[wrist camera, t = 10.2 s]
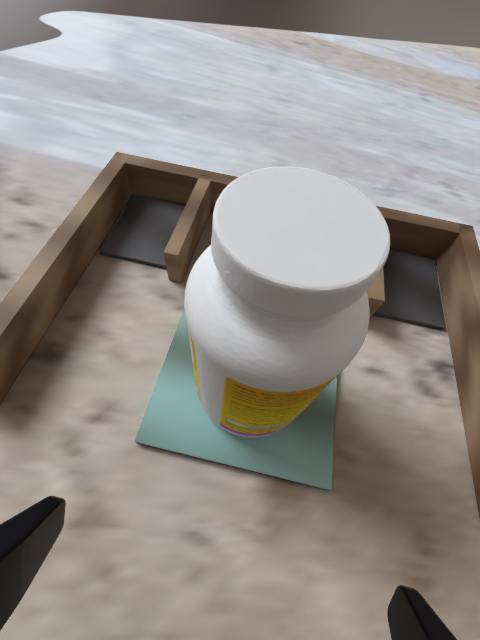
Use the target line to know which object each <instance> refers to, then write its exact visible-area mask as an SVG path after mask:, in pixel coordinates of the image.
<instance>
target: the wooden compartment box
mask: <svg viewBox="0 0 480 640" xmlns="http://www.w3.org/2000/svg"><path fill="white" fill-rule="evenodd" d="M237 178H238V177H234V176H230V175H225V174H220V173H215V172H210V171H206V170H201V169H196V168H191V167H186V166H182V165H177V164H172V163H167V162H162V161H158V160H153V159H148V158H143V157H138V156H134V155H129V154H124V153H119V152H116V154H115V155H114V156H113V158H112V159H111V160H110V161H109V163H108V164H107V165H106V167H105V168H104V169H103V171H102V172H101V173H100V174H99V176H98V177H97V178H96V180H95V181H94V182H93V184H92V185H91V186H90V187H89V189H88V190H87V191H86V193H85V194H84V195H83V197H82V198H81V199H80V200H79V202H78V203H77V204H76V206H75V207H74V208H73V210H72V211H71V212H70V213H69V215H68V216H67V217H66V219H65V220H64V221H63V223H62V224H61V225H60V226H59V228H58V229H57V230H56V232H55V233H54V234H53V236H52V237H51V238H50V240H49V241H48V242H47V243H46V245H45V246H44V247H43V249H42V250H41V251H40V253H39V254H38V255H37V256H36V258H35V259H34V260H33V262H32V263H31V264H30V266H29V267H28V268H27V269H26V271H25V272H24V273H23V275H22V276H21V277H20V279H19V280H18V281H17V282H16V284H15V285H14V286H13V288H12V289H11V290H10V292H9V293H8V294H7V295H6V297H5V298H4V299H3V301H2V302H1V303H0V403H1V401H2V400H3V398H4V397H5V395H6V393H7V392H8V390H9V389H10V387H11V385H12V384H13V382H14V381H15V379H16V378H17V376H18V374H19V373H20V371H21V370H22V368H23V367H24V365H25V363H26V362H27V360H28V359H29V357H30V356H31V354H32V352H33V351H34V349H35V348H36V346H37V345H38V343H39V341H40V340H41V338H42V337H43V335H44V333H45V332H46V330H47V329H48V327H49V326H50V324H51V322H52V321H53V319H54V318H55V316H56V315H57V313H58V311H59V310H60V308H61V307H62V305H63V304H64V302H65V300H66V299H67V297H68V296H69V294H70V293H71V291H72V289H73V288H74V286H75V285H76V283H77V281H78V280H79V278H80V277H81V275H82V274H83V272H84V270H85V269H86V267H87V266H88V264H89V263H90V261H91V259H92V258H93V256H94V255H95V253H96V252H97V250H98V248H99V247H100V245H101V244H102V242H103V241H104V239H105V237H106V236H107V234H108V233H109V231H110V230H111V228H112V226H113V225H114V223H115V222H116V220H117V218H118V217H119V215H120V214H121V212H122V211H123V209H124V207H125V206H126V204H127V203H128V201H129V200H130V198H131V196H132V195H134V197H133V198H132V200H131V202H130V203H129V205H128V206H127V208H126V210H125V211H124V213H123V214H122V216H121V218H120V219H119V221H118V222H117V224H116V226H115V227H114V229H113V230H112V232H111V233H110V235H109V237H108V238H107V240H106V241H105V243H104V245H103V246H102V248H101V249H100V254H104V255H108V256H113V257H117V258H122V259H126V260H131V261H135V262H140V263H144V264H149V265H153V266H158V267H162V268H167V272H168V277H169V280H172V281H176V282H181V283H182V281H183V278H184V276H185V273H186V271H187V268H188V266H189V263H190V261H191V258H192V256H193V253H194V251H195V249H196V246H197V244H198V241H199V239H200V236H201V234H202V231H203V229H204V226H205V224H206V221H207V219H208V216H209V214H210V211H214V208H215V204H216V201H217V199H218V197H219V196H220V194H221V193H222V191H223V190H224V189H225V188H226V187H227V185H228V184H230V183H231V182H232V181H234V180H235V179H237ZM136 195H138V196H136ZM141 196H143V197H141ZM146 197H148V198H146ZM150 198H152V199H150ZM155 199H157V200H155ZM160 200H162V201H160ZM164 201H166V202H164ZM169 202H171V203H169ZM174 203H176V204H174ZM178 204H180V205H178ZM183 205H185V206H183ZM376 207H377V208H378V209H379V211H380V212H381V214H382V215H383V217H384V219H385V221H386V223H387V226H388V229H389V233H390V249H391V250H389V254H388V257H387V259H386V262H385V264H384V266H383V268H382V269H381V271H380V272H379V273H378V275H377V276H376V278H375V279H374V281H373V282H372V283H371V285H370V286H369V288H368V289H367V291H366V292H367V296H368V301H369V309H370V317H371V316H372V315H378V316H382V317H387V318H391V319H396V320H400V321H405V322H409V323H414V324H418V325H423V326H427V327H432V328H436V329H441V330H443V329H445V322H444V316H443V310H442V304H441V298H440V292H439V286H438V280H437V274H436V268H435V262H434V259H436V263H437V269H438V275H439V280H440V286H441V292H442V298H443V304H444V310H445V316H446V322H447V328H448V333H449V339H450V345H451V351H452V357H453V363H454V369H455V375H456V380H457V386H458V392H459V398H460V404H461V410H462V416H463V422H464V428H465V433H466V439H467V445H468V451H469V457H470V463H471V469H472V475H473V481H474V486H475V492H476V498H477V504H478V510H479V516H480V251H479V247H478V243H477V240H476V236H475V233H474V229H473V226H470V225H465V224H460V223H455V222H451V221H446V220H441V219H436V218H431V217H427V216H422V215H417V214H412V213H407V212H403V211H398V210H393V209H388V208H383V207H379V206H376ZM394 250H396V251H394ZM399 251H400V252H399ZM403 252H405V253H403ZM408 253H410V254H408ZM413 254H415V255H413ZM417 255H419V256H417ZM422 256H424V257H422ZM427 257H429V258H427ZM431 258H433V259H431ZM370 317H369V318H370ZM336 389H337V377H336V378H335V379H334V380H333V381H332V382H331V383H330V384H329V385H328V386H327V387H326V388H325V389H324V390H323V391H322V392H321V393H320V394H319V395H318V396H317V397H316V398H315V399H314V400H313V401H312V402H311V403H310V404H309V405H308V406H307V407H306V408H305V409H304V410H303V411H302V412H301V413H300V414H299V415H298V416H297V417H296V418H295V419H294V420H293V421H292V422H291V423H290V424H288V425H287V426H286V427H284V428H283V429H281V430H280V431H278V432H276V433H273V434H271V435H267V436H263V437H254V438H252V437H242V436H238V435H235V434H232V433H230V432H227V431H226V430H224V429H222V428H221V427H219V426H218V425H217V424H215V423H214V422H213V421H212V420H211V419H210V418H209V416H208V415H207V414H206V412H205V411H204V409H203V407H202V405H201V403H200V400H199V398H198V394H197V390H196V384H195V377H194V370H193V362H192V355H191V347H190V341H189V334H188V328H187V322H186V314H185V308H184V311H183V314H182V316H181V319H180V322H179V324H178V327H177V330H176V332H175V335H174V338H173V340H172V343H171V346H170V348H169V351H168V354H167V356H166V359H165V362H164V364H163V367H162V370H161V372H160V375H159V378H158V380H157V383H156V386H155V388H154V391H153V394H152V396H151V399H150V402H149V405H148V407H147V410H146V413H145V415H144V418H143V421H142V423H141V426H140V429H139V431H138V434H137V437H136V439H135V442H136V443H140V444H144V445H148V446H152V447H156V448H160V449H164V450H168V451H172V452H176V453H180V454H184V455H188V456H193V457H197V458H201V459H205V460H209V461H213V462H217V463H221V464H225V465H229V466H233V467H237V468H241V469H245V470H249V471H253V472H257V473H261V474H265V475H269V476H273V477H277V478H281V479H286V480H290V481H294V482H298V483H302V484H306V485H310V486H314V487H318V488H322V489H326V490H332V472H333V451H334V430H335V410H336Z"/></svg>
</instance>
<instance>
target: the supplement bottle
mask: <svg viewBox="0 0 480 640" xmlns="http://www.w3.org/2000/svg"><path fill="white" fill-rule="evenodd" d="M389 249H390V233H389V229H388V226H387V223H386V221H385V219H384V217H383V215H382V214H381V212H380V211H379V209H378V208H377V207H376V205H375V204H374V203H373V202H372V201H371V200H370V199H369V198H368V197H367V196H366V195H365V194H364V193H362V192H361V191H360V190H358V189H357V188H355V187H354V186H352V185H350V184H349V183H347V182H345V181H343V180H341V179H339V178H337V177H334V176H332V175H329V174H326V173H323V172H320V171H317V170H313V169H308V168H301V167H292V166H282V167H268V168H262V169H258V170H254V171H251V172H249V173H246V174H244V175H242V176H240V177H238V178H237V179H235V180H234V181H232V182H231V183H230V184H228V185H227V187H226V188H225V189H224V190H223V191H222V193H221V194H220V196H219V197H218V199H217V201H216V204H215V208H214V211H213V224H212V238H211V245H210V246H209V247H208V248H207V249H206V250H205V251H204V252H203V253H202V254H201V256H200V257H199V258H198V260H197V261H196V263H195V264H194V266H193V268H192V270H191V272H190V275H189V278H188V281H187V285H186V290H185V314H186V322H187V328H188V334H189V341H190V347H191V355H192V362H193V370H194V377H195V384H196V390H197V394H198V398H199V400H200V403H201V405H202V407H203V409H204V411H205V412H206V414H207V415H208V416H209V418H210V419H211V420H212V421H213V422H214V423H215V424H217V425H218V426H219V427H221V428H222V429H224V430H226V431H227V432H230V433H232V434H235V435H238V436H242V437H252V438H254V437H263V436H267V435H271V434H273V433H276V432H278V431H280V430H281V429H283V428H284V427H286V426H287V425H288V424H290V423H291V422H292V421H293V420H294V419H295V418H296V417H297V416H298V415H299V414H300V413H301V412H302V411H303V410H304V409H305V408H306V407H307V406H308V405H309V404H310V403H311V402H312V401H313V400H314V399H315V398H316V397H317V396H318V395H319V394H320V393H321V392H322V391H323V390H324V389H325V388H326V387H327V386H328V385H329V384H330V383H331V382H332V381H333V380H334V379H335V378H336V377H337V376H338V375H339V374H340V373H341V372H342V371H343V370H344V369H345V368H346V366H347V365H348V364H349V363H350V362H351V361H352V359H353V358H354V357H355V355H356V354H357V353H358V351H359V349H360V348H361V346H362V344H363V342H364V339H365V337H366V334H367V330H368V325H369V317H370V309H369V301H368V296H367V292H366V291H367V289H368V288H369V286H370V285H371V283H372V282H373V281H374V279H375V278H376V276H377V275H378V273H379V272H380V271H381V269H382V268H383V266H384V264H385V262H386V259H387V257H388V254H389Z"/></svg>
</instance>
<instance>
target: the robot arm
mask: <svg viewBox="0 0 480 640" xmlns="http://www.w3.org/2000/svg"><path fill="white" fill-rule="evenodd" d="M64 516H65V500H64V499H63V498H59V497H55V496H49V497H47V498H45V499H43V500H41V501H40V502H38V503H36V504H35V505H33V506H31V507H29V508H28V509H26V510H24V511H23V512H21V513H19V514H18V515H16V516H14V517H12V518H11V519H9V520H7V521H6V522H4V523H2V524H0V630H1V629H2V627H3V626H4V624H5V623H6V622H7V620H8V619H9V617H10V616H11V614H12V613H13V611H14V610H15V608H16V607H17V605H18V604H19V602H20V601H21V599H22V597H23V596H24V594H25V592H26V591H27V589H28V587H29V586H30V584H31V582H32V580H33V579H34V577H35V575H36V574H37V572H38V570H39V568H40V567H41V565H42V563H43V562H44V560H45V558H46V556H47V555H48V553H49V551H50V549H51V548H52V546H53V544H54V543H55V541H56V539H57V537H58V536H59V534H60V532H61V530H62V527H63V524H64ZM387 614H388V622H389V628H390V633H391V638H392V640H457V639H456V638H455V637H454V635H453V634H452V633H451V632H450V630H449V629H448V628H447V627H446V626H445V624H444V623H443V622H442V621H441V619H440V618H439V617H438V616H437V614H436V613H435V612H434V611H433V609H432V608H431V607H430V606H429V605H428V603H427V602H426V601H425V600H424V598H423V597H422V596H421V595H420V593H419V592H418V591H416V590H415V589H413V588H410V587H406V586H402V585H400V586H398V587H397V588H396V590H395V593H394V595H393V597H392V599H391V602H390V604H389V606H388V613H387Z"/></svg>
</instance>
